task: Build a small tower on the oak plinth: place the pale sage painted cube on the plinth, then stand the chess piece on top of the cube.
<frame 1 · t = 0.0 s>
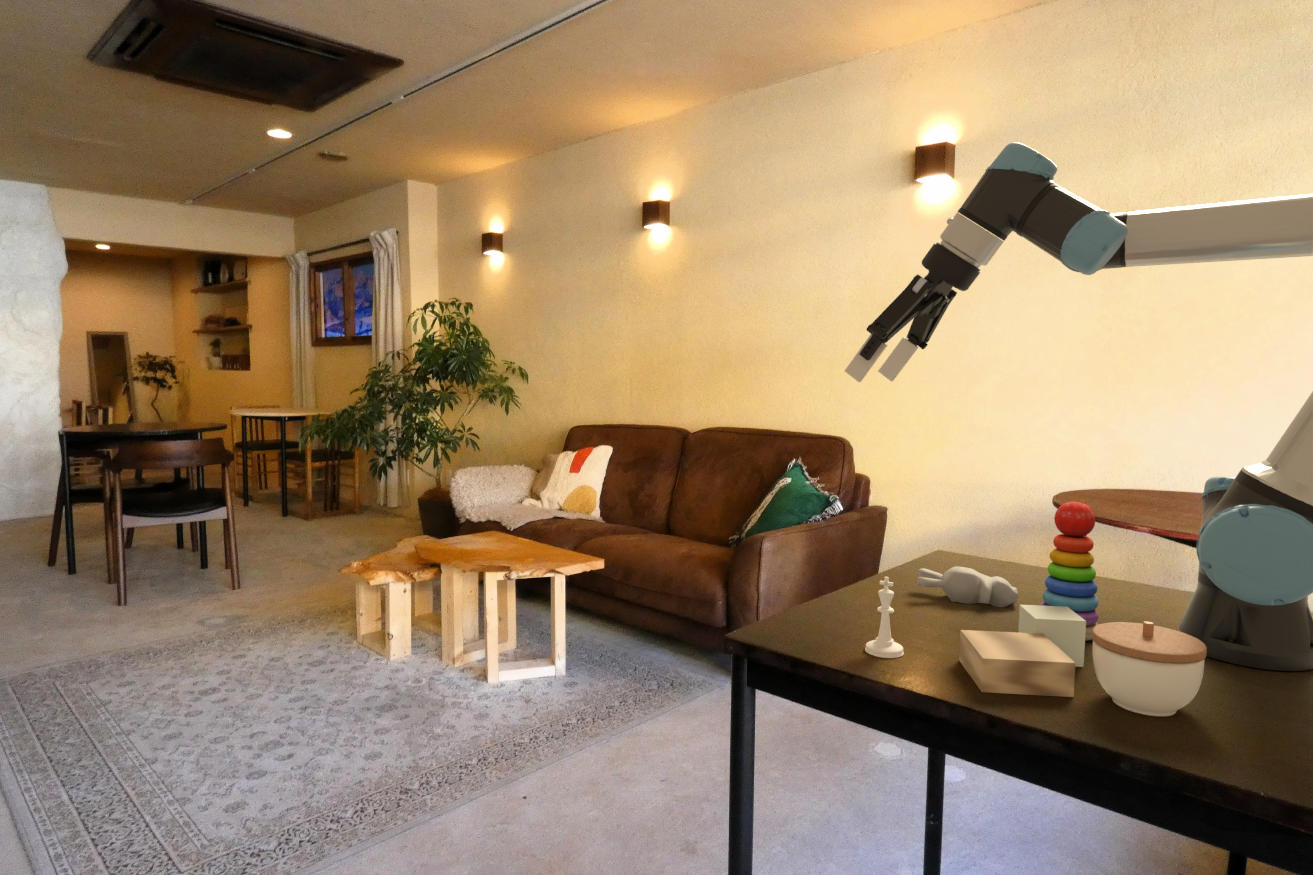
hand: (869, 376, 118), 36 cm above the table, tool tilted 35°, fingers open, 13 cm apart
cube: (1049, 657, 102), on the table
plinth: (1013, 677, 95), on the table
bunny figurine: (965, 601, 127), on the table
stacking toy: (1067, 634, 111), on the table
lidded jar: (1143, 706, 87), on the table
chess piece: (884, 652, 103), on the table
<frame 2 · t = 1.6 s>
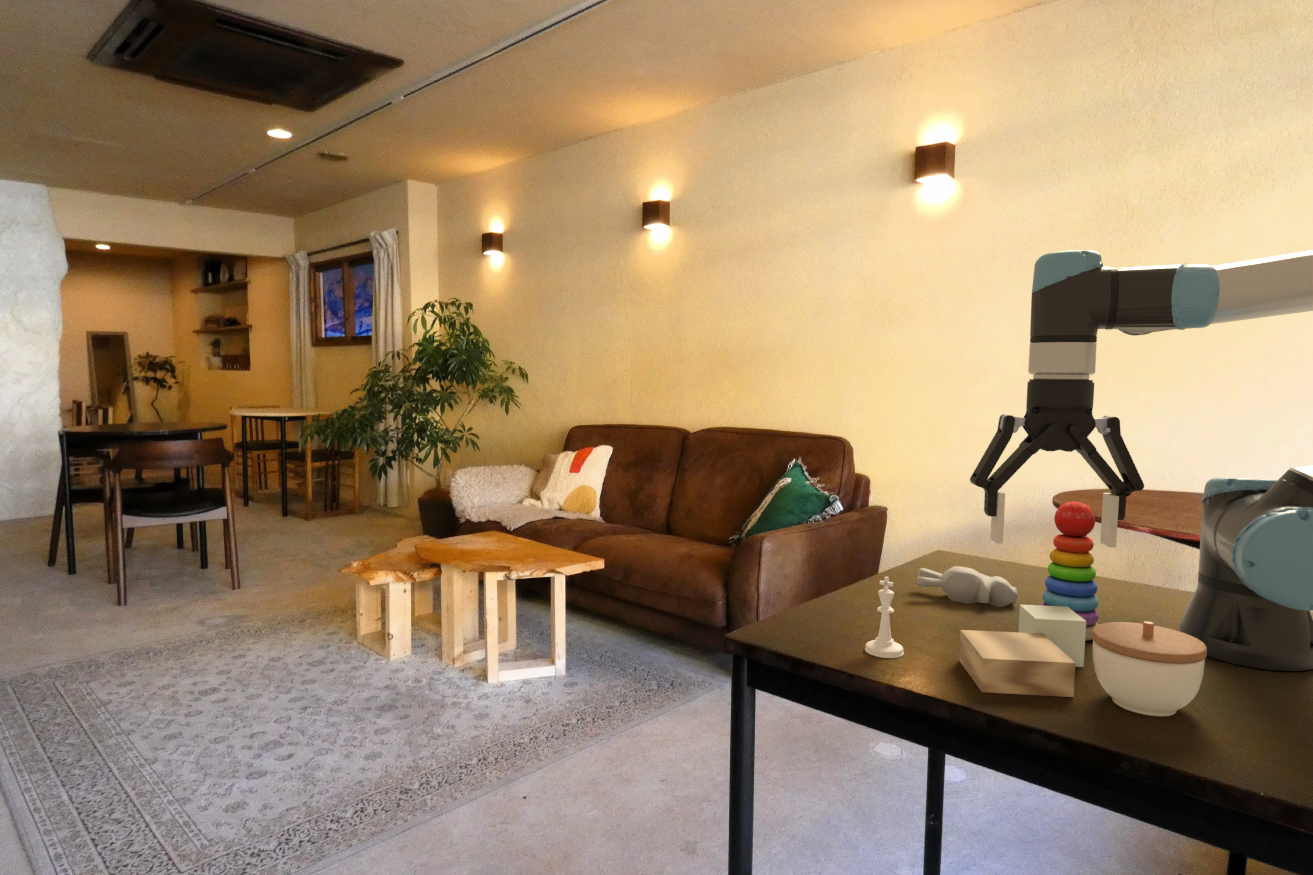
hand: (1051, 543, 101), 15 cm above the table, tool pointing down, fingers open, 13 cm apart
nothing on the table moved.
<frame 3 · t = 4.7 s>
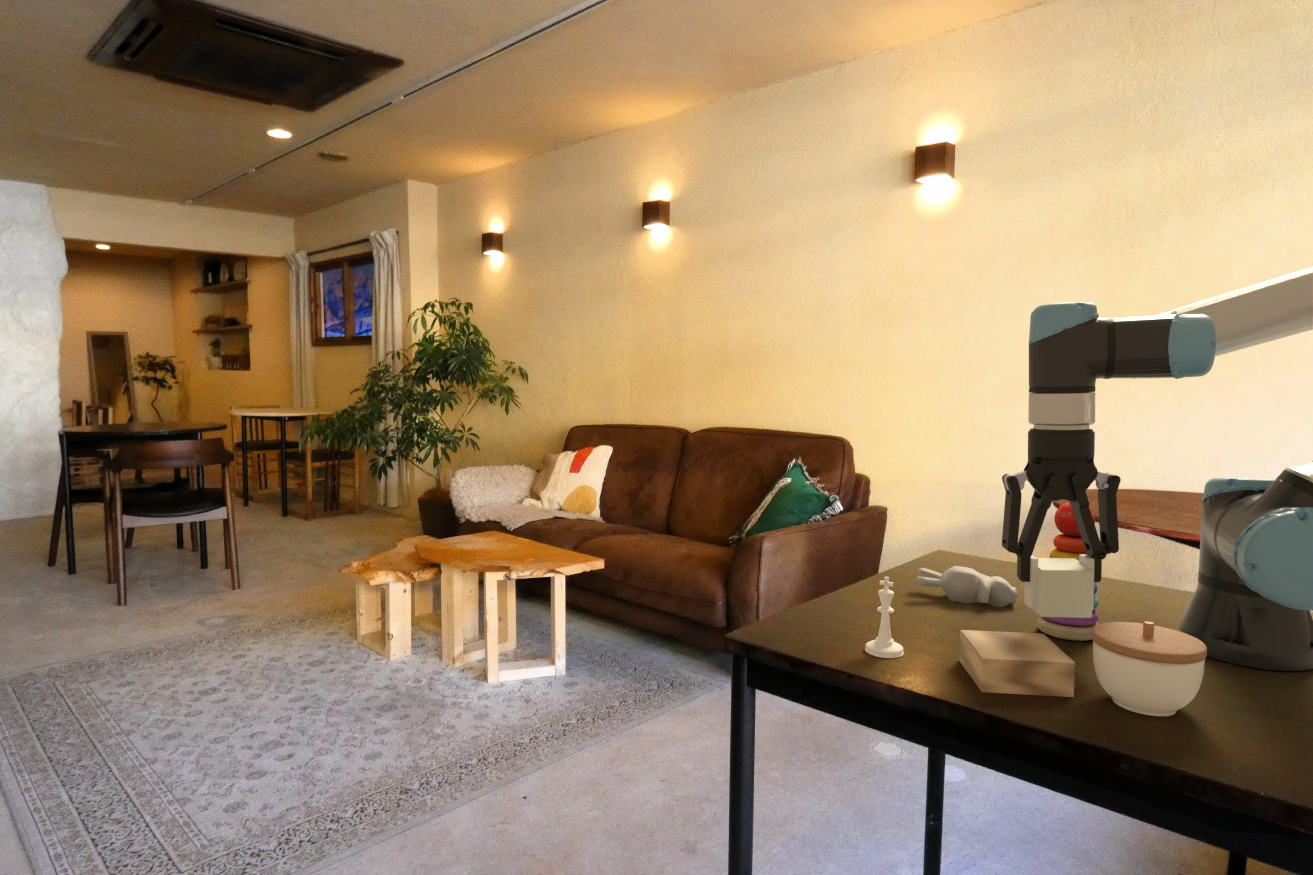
hand: (1058, 605, 101), 7 cm above the table, tool pointing down, fingers closed on cube, 6 cm apart
cube: (1057, 609, 101), point 6 cm above the table, touching gripper
everything else where it was.
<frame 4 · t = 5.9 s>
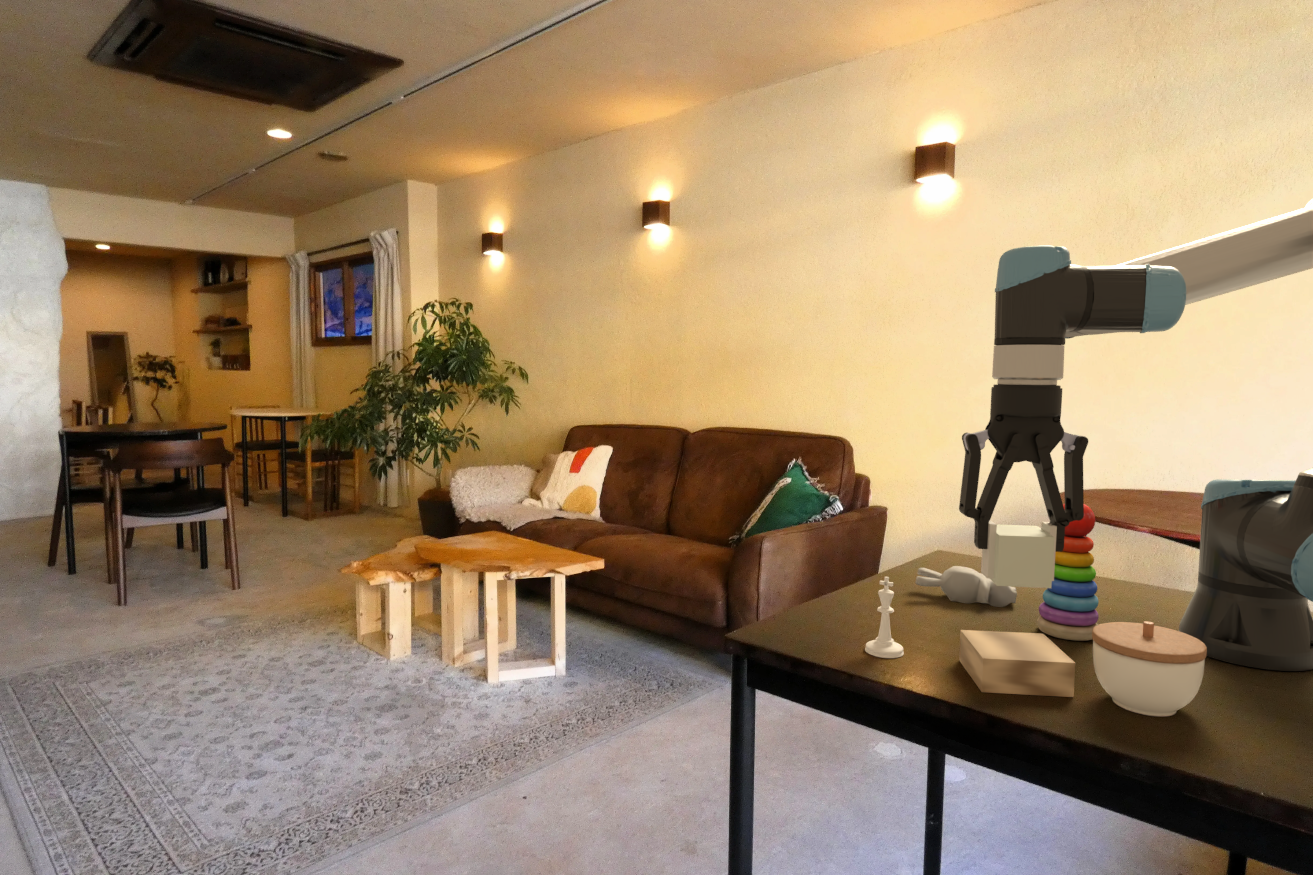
hand: (1016, 576, 94), 12 cm above the table, tool pointing down, fingers closed on cube, 6 cm apart
cube: (1015, 579, 94), point 12 cm above the table, touching gripper
everything else where it was.
when the fingers open (5 cm above the table, at t = 7.5 s): cube stays where it is, resting on plinth.
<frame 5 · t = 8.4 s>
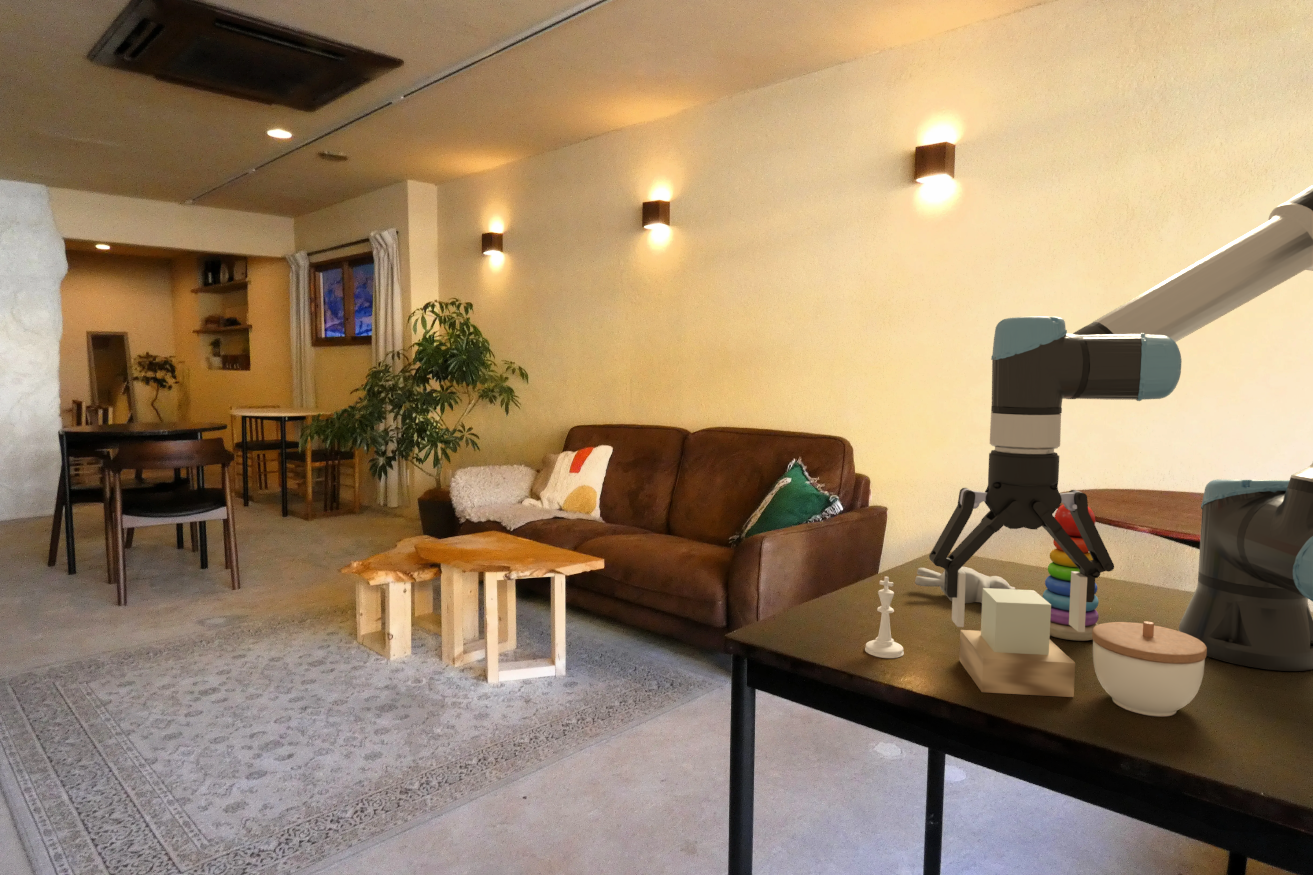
hand: (1016, 625, 94), 6 cm above the table, tool pointing down, fingers open, 13 cm apart
cube: (1013, 644, 94), point 4 cm above the table, touching plinth
everything else where it was.
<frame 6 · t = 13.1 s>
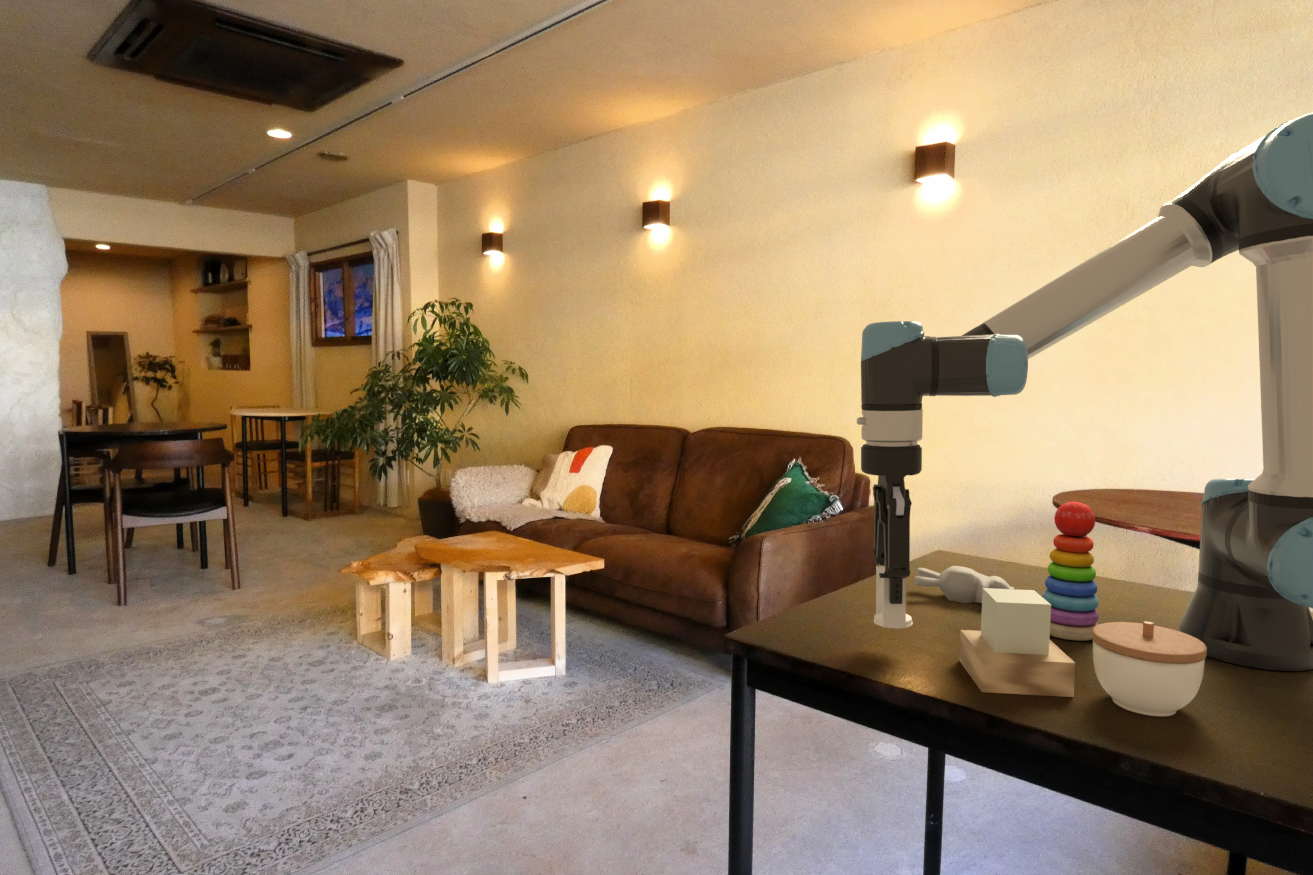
hand: (890, 619, 103), 4 cm above the table, tool pointing down, fingers closed on chess piece, 5 cm apart
chess piece: (893, 623, 103), point 4 cm above the table, touching gripper
everything else where it was.
when the fingers open (11 cm above the table, at t = 17.0 s): chess piece stays where it is, resting on cube.
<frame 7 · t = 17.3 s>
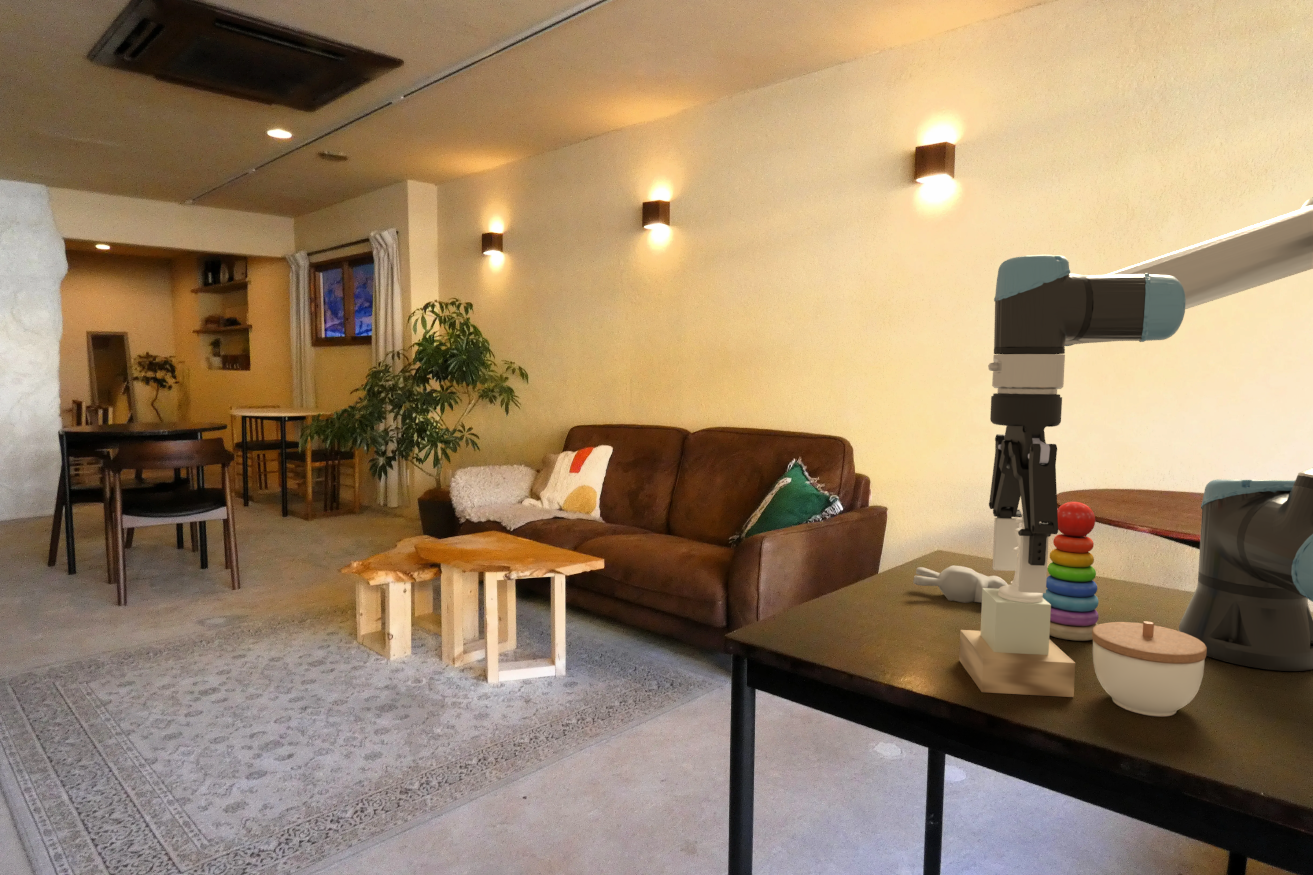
hand: (1017, 580, 93), 12 cm above the table, tool pointing down, fingers open, 9 cm apart
cube: (1013, 644, 94), point 4 cm above the table, touching chess piece, plinth
chess piece: (1020, 598, 94), point 10 cm above the table, touching cube
everything else where it was.
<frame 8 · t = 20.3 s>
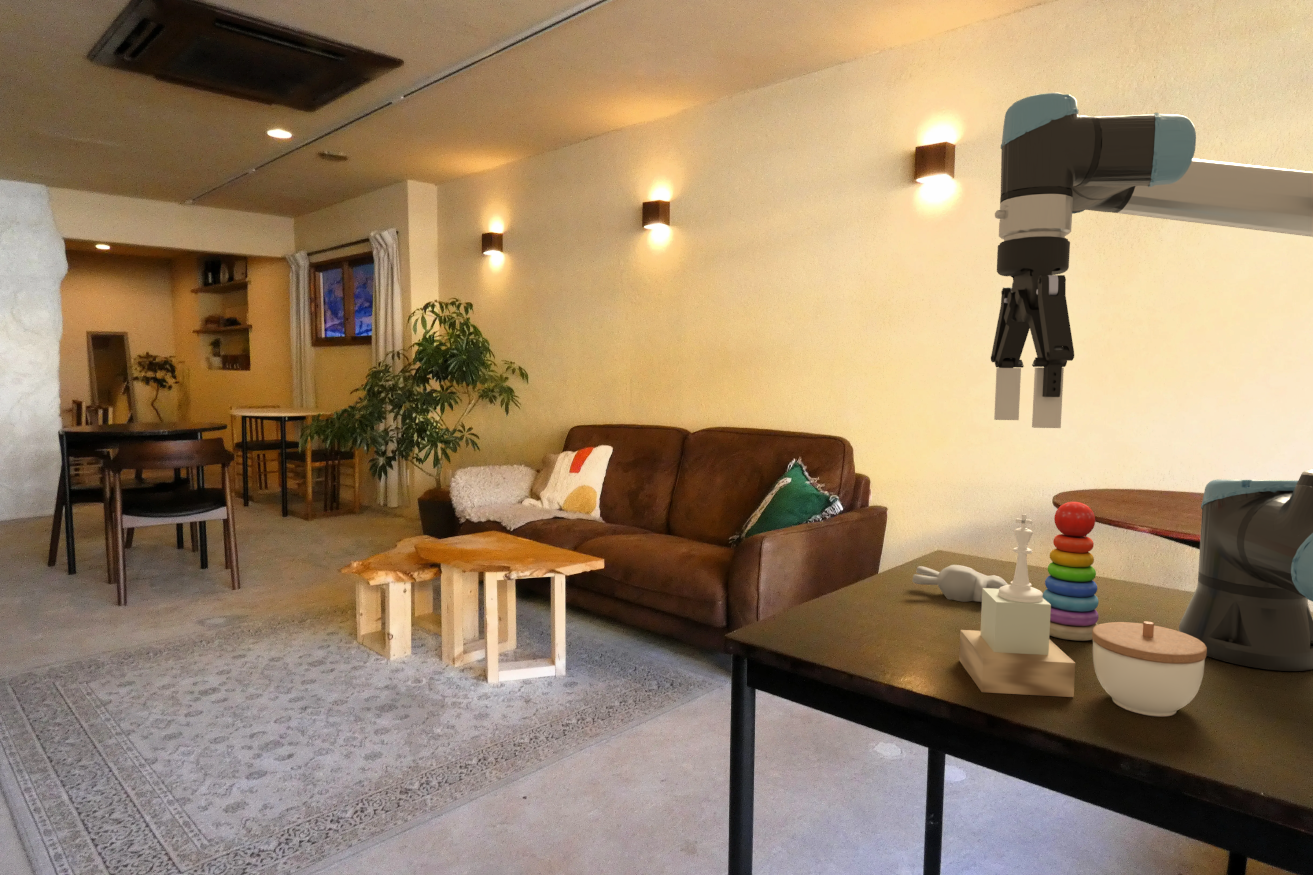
hand: (1024, 423, 92), 31 cm above the table, tool pointing down, fingers open, 13 cm apart
at the end: cube inside the target area on the plinth (0.2 cm from its centre), point 4.0 cm above the plinth's base; chess piece 0.6 cm off-centre on the cube, point 5.8 cm above the cube's base; chess piece tilted 0° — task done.
